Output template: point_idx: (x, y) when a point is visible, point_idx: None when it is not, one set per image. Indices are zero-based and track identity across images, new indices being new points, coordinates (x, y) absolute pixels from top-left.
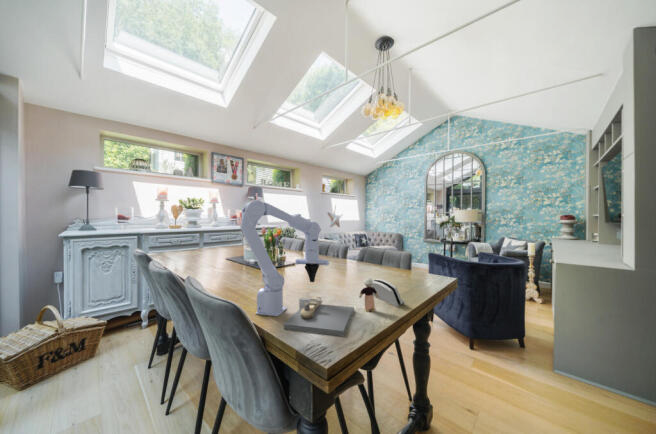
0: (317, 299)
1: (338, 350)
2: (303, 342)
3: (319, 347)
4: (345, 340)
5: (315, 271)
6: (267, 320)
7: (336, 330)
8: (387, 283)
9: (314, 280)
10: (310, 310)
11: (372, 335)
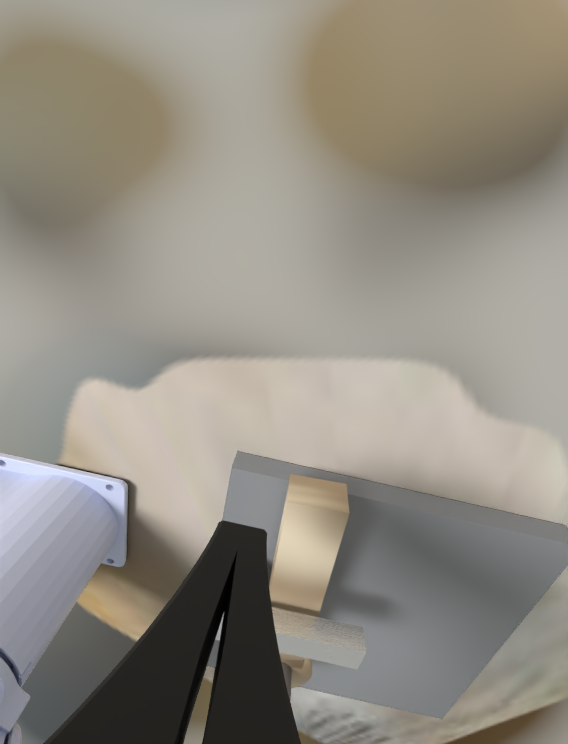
0: (332, 650)
1: (406, 738)
2: (296, 704)
3: (349, 724)
4: None
5: (260, 728)
6: (100, 585)
7: (415, 711)
8: None
9: (265, 543)
10: (298, 675)
11: (550, 701)
